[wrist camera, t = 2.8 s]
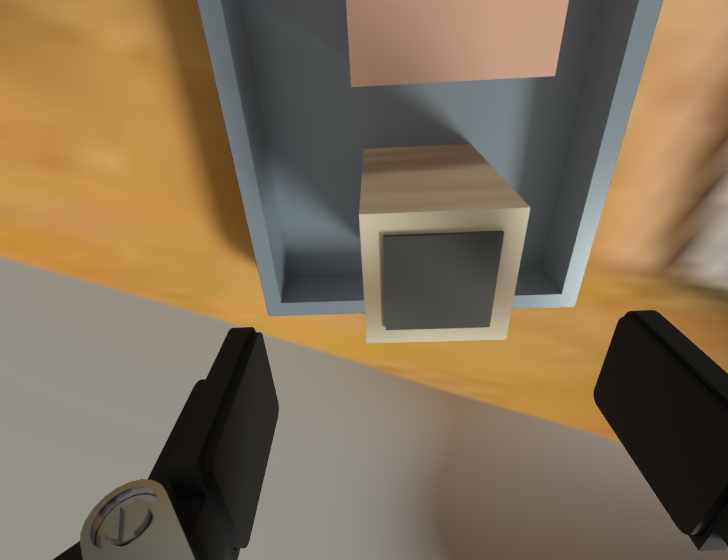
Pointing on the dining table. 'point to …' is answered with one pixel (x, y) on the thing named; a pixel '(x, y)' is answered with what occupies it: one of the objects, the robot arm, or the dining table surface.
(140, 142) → the dining table surface
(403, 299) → the birch box
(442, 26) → the terracotta box
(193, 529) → the robot arm
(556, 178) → the slate bin
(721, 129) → the dining table surface
